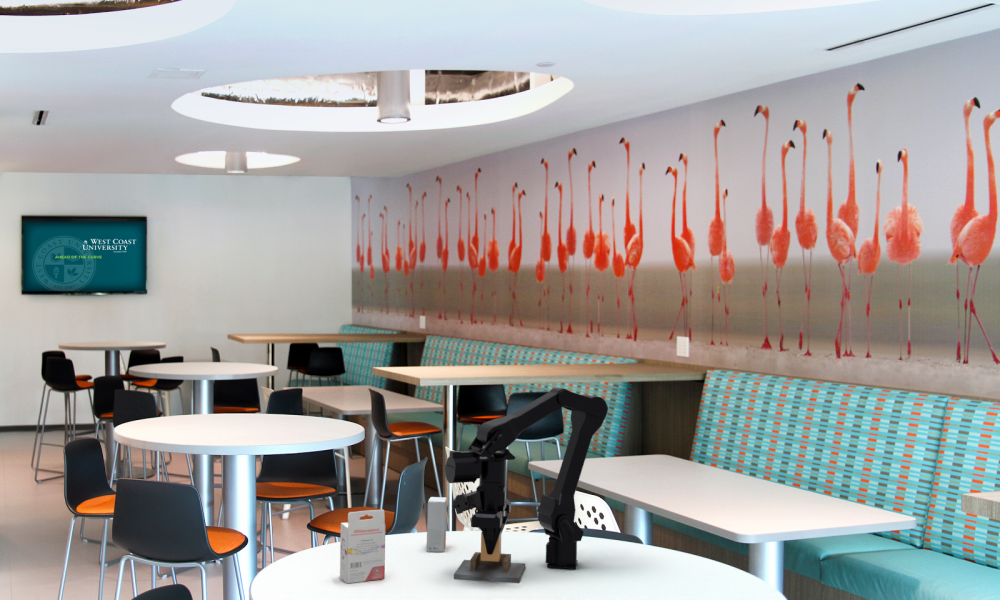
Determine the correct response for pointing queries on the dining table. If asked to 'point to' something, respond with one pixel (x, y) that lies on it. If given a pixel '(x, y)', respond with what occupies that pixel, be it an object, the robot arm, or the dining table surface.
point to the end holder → (490, 569)
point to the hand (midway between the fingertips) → (491, 552)
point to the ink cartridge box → (363, 547)
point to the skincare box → (436, 524)
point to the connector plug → (496, 553)
